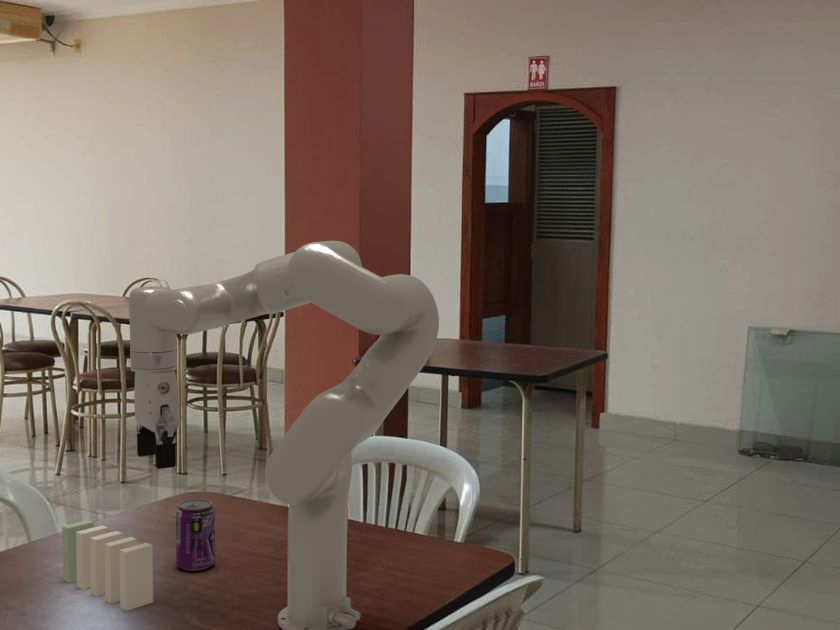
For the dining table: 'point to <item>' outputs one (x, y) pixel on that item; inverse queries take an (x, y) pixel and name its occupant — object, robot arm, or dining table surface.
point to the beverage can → (195, 535)
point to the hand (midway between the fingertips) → (156, 461)
